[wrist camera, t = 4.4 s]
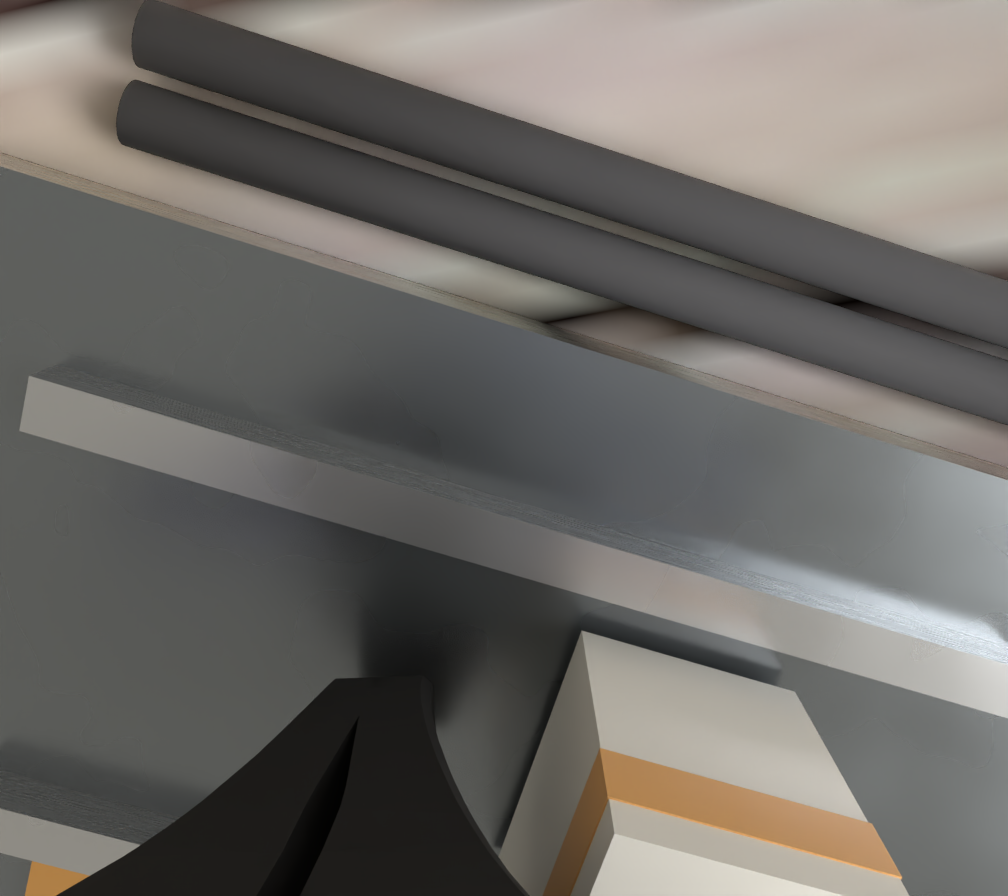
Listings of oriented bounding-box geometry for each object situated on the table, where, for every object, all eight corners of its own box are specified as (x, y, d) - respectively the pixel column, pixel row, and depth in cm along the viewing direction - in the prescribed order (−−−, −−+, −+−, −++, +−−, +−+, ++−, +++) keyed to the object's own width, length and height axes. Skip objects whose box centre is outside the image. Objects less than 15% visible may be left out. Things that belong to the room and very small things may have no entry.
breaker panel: (1162, 515, 13) (1265, 568, 12) (858, 1087, 16) (902, 1202, 15) (-25, 144, 12) (-120, 137, 10) (-130, 837, 15) (-218, 926, 13)
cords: (1245, 361, 13) (1291, 373, 12) (1182, 477, 13) (1224, 496, 13) (165, 5, 12) (139, -8, 11) (137, 146, 12) (110, 144, 11)
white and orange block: (797, 691, 13) (924, 914, 9) (691, 929, 14) (762, 1223, 10) (580, 628, 12) (614, 831, 8) (489, 875, 13) (482, 1155, 10)
